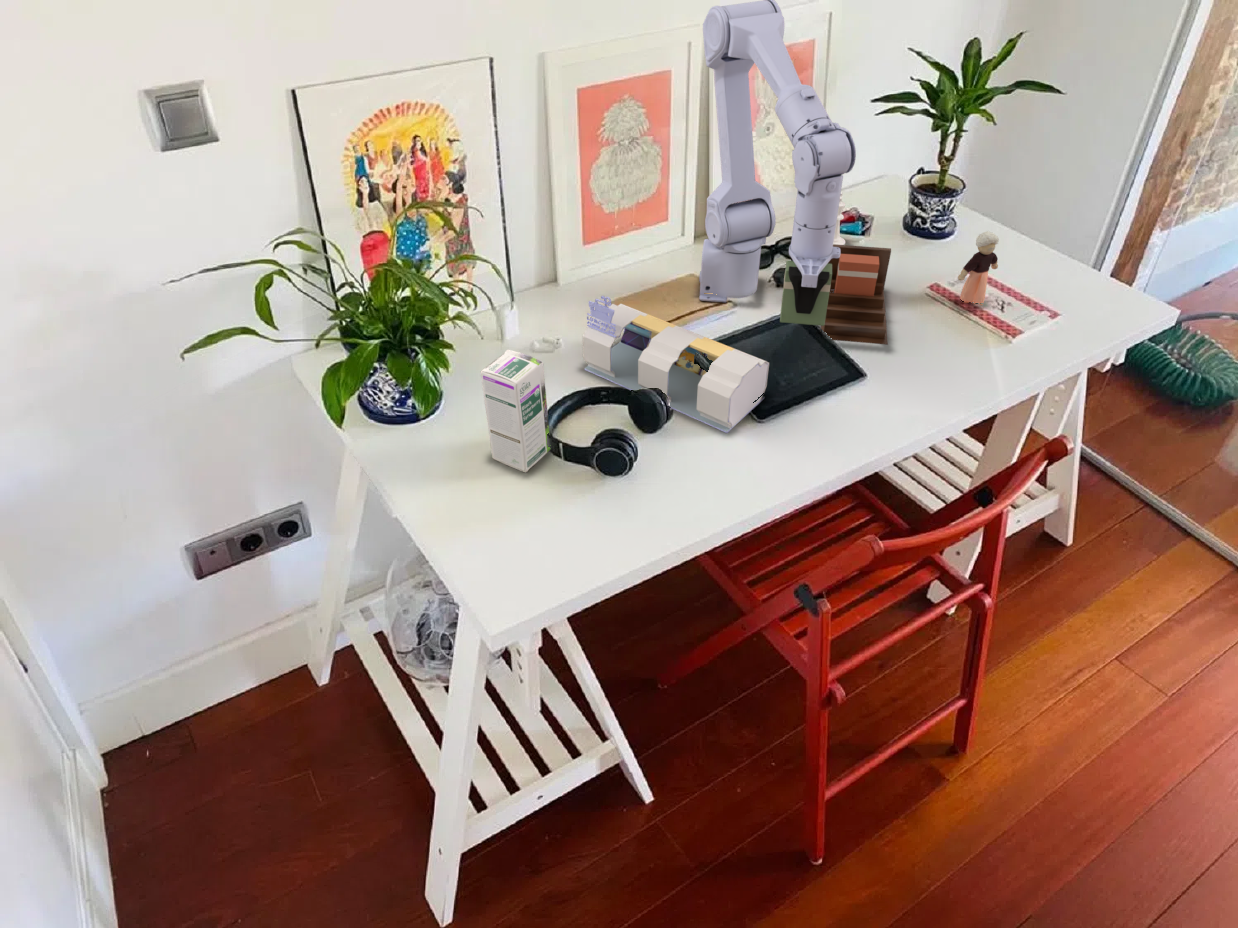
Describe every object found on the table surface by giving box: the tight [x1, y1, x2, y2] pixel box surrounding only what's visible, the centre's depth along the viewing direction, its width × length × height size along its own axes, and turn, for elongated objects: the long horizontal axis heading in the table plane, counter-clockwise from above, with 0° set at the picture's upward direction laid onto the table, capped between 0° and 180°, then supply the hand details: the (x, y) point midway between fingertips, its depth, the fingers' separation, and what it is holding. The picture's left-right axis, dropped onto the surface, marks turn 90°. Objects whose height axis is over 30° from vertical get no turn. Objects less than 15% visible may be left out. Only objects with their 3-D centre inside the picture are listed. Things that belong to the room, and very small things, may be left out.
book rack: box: [820, 244, 892, 346], centre depth 155 cm, size 10×17×8 cm, turn 171°
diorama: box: [582, 295, 770, 434], centre depth 140 cm, size 25×10×13 cm, turn 53°
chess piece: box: [833, 191, 846, 245], centre depth 172 cm, size 5×5×10 cm
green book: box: [779, 260, 832, 327], centre depth 143 cm, size 6×3×8 cm, turn 81°
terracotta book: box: [834, 254, 879, 296], centre depth 158 cm, size 6×3×7 cm, turn 81°
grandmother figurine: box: [957, 230, 1000, 307], centre depth 156 cm, size 8×4×13 cm, turn 129°
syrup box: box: [480, 349, 551, 473], centre depth 128 cm, size 6×6×14 cm
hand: (803, 305), depth 144 cm, fingers closed on green book, 3 cm apart
